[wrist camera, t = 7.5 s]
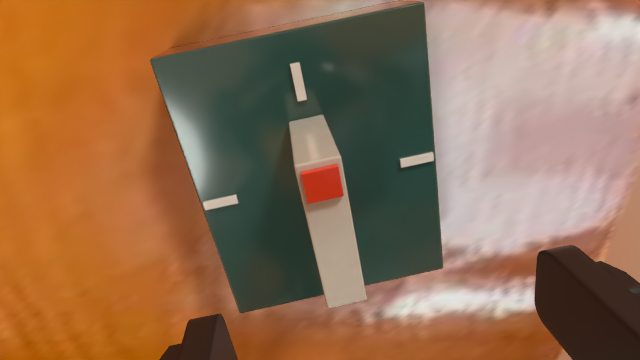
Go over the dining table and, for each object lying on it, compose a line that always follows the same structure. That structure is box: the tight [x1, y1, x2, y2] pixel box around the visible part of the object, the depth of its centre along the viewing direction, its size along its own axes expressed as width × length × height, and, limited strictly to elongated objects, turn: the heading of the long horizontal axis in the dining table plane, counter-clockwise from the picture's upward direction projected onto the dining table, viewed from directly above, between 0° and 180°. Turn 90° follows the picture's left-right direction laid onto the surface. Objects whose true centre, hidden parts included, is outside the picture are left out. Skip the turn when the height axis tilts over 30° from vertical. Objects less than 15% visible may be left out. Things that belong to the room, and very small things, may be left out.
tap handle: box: [289, 115, 367, 308], centre depth 15 cm, size 6×1×5 cm, turn 11°
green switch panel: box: [150, 0, 443, 313], centre depth 18 cm, size 12×10×3 cm
